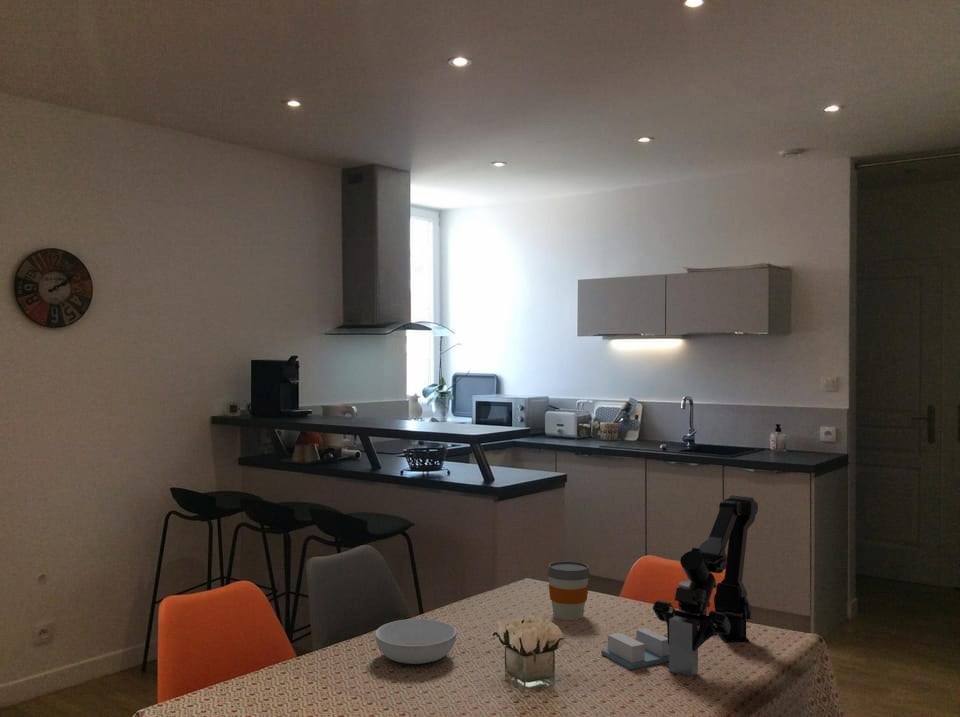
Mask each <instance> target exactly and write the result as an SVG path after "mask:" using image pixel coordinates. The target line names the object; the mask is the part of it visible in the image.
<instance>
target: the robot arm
mask: <svg viewBox="0 0 960 717" xmlns="http://www.w3.org/2000/svg"><path fill="white" fill-rule="evenodd" d="M718 510H719V511H718V512H717V515H716V519H715V521H714V523H713V526H712V528H711V530H710V533H709V536H708V537H707V540H705V541H703V542H702V543H700V545H699V547H698V548H697V547H692V548H691V550H690V551H687V552H685V553H684V554H683V555H682V556H681V557H680V560H679V562H680V565H681V568H682V570H683V571H684V573H685V575H686V577H687V579H688V581H691V583H690V585H689V588H686V589H684V588H679V586H678V587H676V590H675V593H674V594H675V595H674V601H675V602H678V604H677V605H678V609H677V608H674V606H673V605H672V603H671V602H669V601H663V600H656V601H655V602H654V603H653V607H652V610H653V612H654V614H655V616H656V617H657V619H658V620H659V621H662V622H665V623H666V629H667V631H666V632H667V636H668V645H669V619H670V618H672V617H674V616H679V617H684V618H689V619H694V620H698V622H700V624H699V626H698V633H697V635H696V638H695V640H694V643H693V647H692V649H693V651H696V650H697V649H698V650H699V648H701V647H702V645H703V644H704V643H705V642H706V641H708V640H709V639H710V638H712V637H713V636H719V637H720V638H721V639H723V640H724V641H725V642H749V640H750V639H749V638H748V637H747V620H751V619H752V614H753V609H752V607H751V604H750V602H749V599H748V592H747V589H746V587H745V584H744V583H743V575H744V567H745V566H744V565H745V556H746V548H747V537H748V529H749V528H750V527H751V526H752V525H753V524H754V522H755V520H756V515H757V514H758V511H759V504H758V502H757V501H755V498H754V497H750V496H742V495H741V496H740V495H730V496H729V497H728V498H723V499H722V500H721V501H720V502H719V507H718ZM726 547H727V552H726ZM726 553H727V554H726ZM723 572H724V578H723V579H722V580H721V582H718V583H717V582H716V578H715V576H714V574H722V573H723ZM714 589H715V590H716V591H715V593H714V598H713V604H714V610H711V611H709V613H708V615H705V612H706V609H707V610H708V608H710V606H711V601H710V599H711V597H712V593H713V590H714ZM679 607H681V608H682V609H681V610H679Z"/></svg>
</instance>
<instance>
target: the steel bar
mask: <svg viewBox="0 0 960 717" xmlns="http://www.w3.org/2000/svg"><path fill="white" fill-rule="evenodd" d="M698 630H699V625H698V620H694V619H689V618H684V617H679V616H674V617H672V618H670V619H669V662H668V672H669V673H671V672H673V674H675V673H676V674H675V675H679V674H680V676H683V677H687V676H688V678H691V677H692V678H693V676H694V677H695V676H696V675H698V674H699V648H698V649H697V650H696V651H693V649H692V647H693V643H694V640H695V638H696V635H697V633H698ZM697 673H698V674H697Z"/></svg>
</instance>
